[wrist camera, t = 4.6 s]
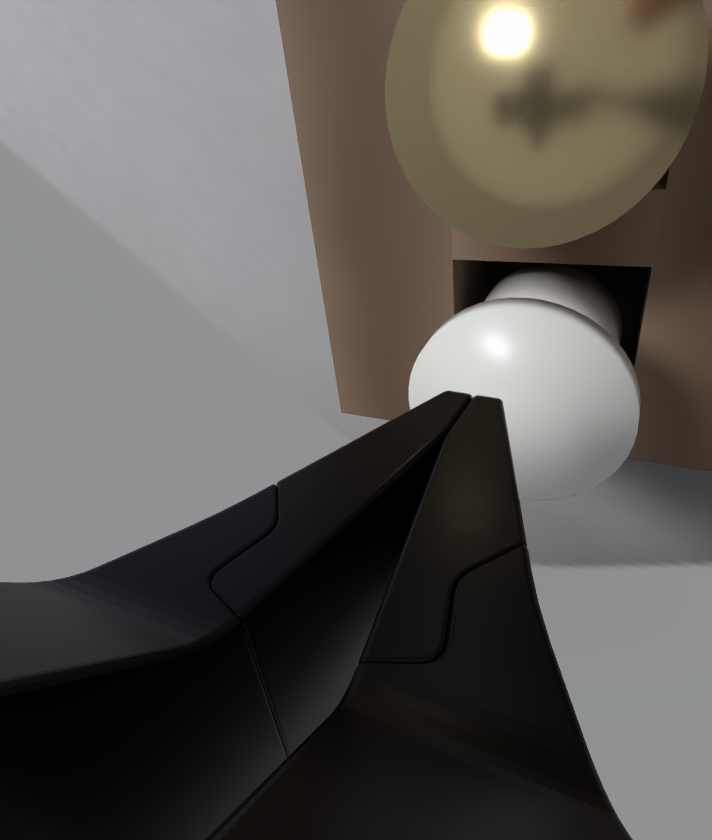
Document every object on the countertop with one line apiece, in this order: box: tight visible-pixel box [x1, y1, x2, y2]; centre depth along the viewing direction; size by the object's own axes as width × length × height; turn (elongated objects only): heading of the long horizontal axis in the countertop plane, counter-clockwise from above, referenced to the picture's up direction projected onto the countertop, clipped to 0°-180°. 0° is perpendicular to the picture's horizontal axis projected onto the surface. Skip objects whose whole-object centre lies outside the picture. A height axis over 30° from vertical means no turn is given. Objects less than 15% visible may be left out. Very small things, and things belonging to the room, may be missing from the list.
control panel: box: [276, 0, 712, 471], centre depth 13 cm, size 12×18×4 cm, turn 7°
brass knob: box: [385, 0, 708, 249], centre depth 11 cm, size 5×5×4 cm
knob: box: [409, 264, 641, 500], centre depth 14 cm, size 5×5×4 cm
